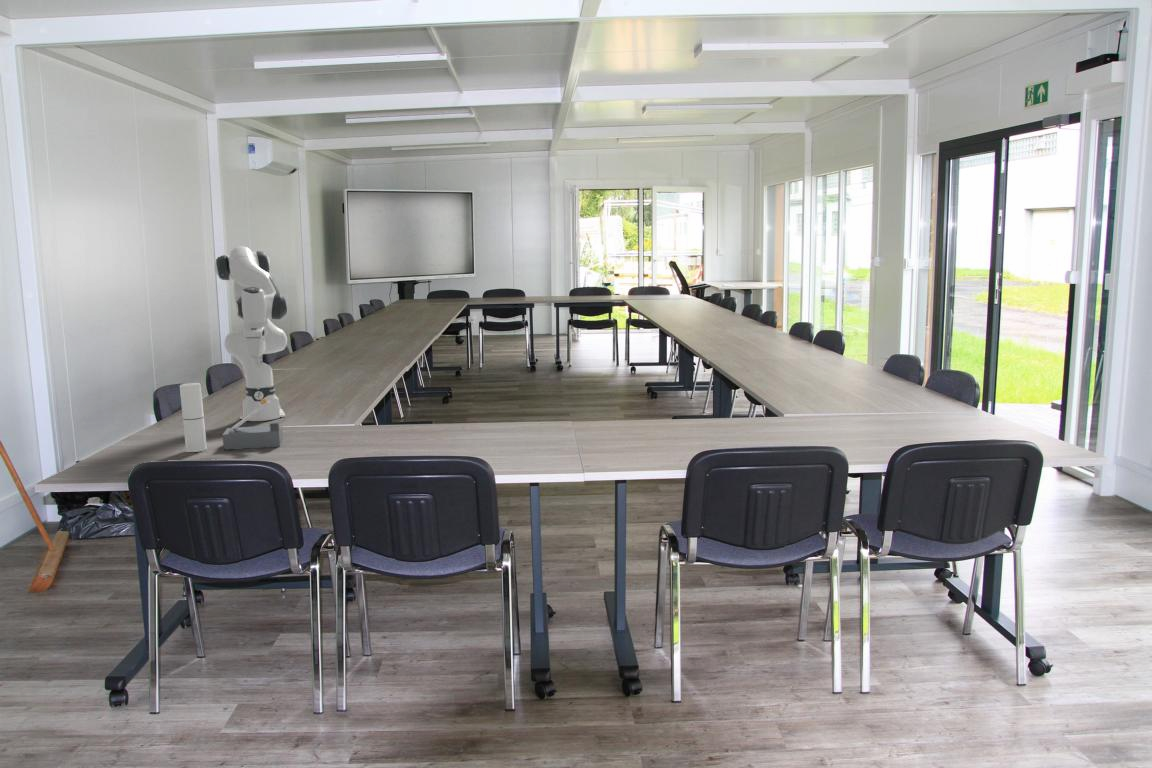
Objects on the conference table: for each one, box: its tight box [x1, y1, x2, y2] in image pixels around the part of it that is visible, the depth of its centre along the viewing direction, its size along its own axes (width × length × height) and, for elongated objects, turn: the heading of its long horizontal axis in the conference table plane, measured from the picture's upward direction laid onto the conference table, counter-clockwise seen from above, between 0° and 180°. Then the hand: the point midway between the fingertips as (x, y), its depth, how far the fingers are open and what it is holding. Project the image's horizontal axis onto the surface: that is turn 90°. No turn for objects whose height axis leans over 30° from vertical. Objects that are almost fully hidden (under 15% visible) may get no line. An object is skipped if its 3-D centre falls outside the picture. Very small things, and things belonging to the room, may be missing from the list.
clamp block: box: [221, 421, 284, 450], centre depth 329 cm, size 11×20×9 cm, turn 103°
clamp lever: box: [230, 397, 270, 430], centre depth 327 cm, size 4×17×3 cm
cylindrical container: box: [179, 382, 208, 453], centre depth 320 cm, size 7×7×25 cm
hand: (258, 366), depth 333 cm, fingers open, 3 cm apart
